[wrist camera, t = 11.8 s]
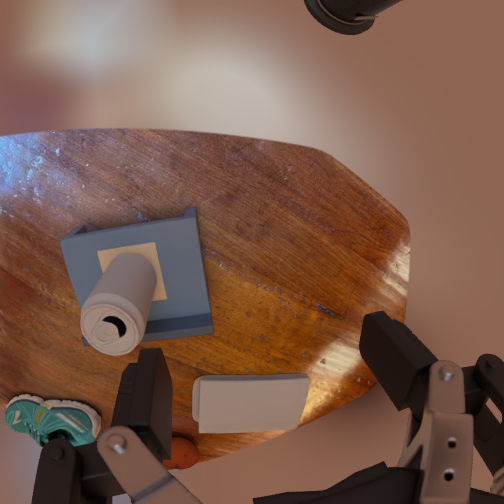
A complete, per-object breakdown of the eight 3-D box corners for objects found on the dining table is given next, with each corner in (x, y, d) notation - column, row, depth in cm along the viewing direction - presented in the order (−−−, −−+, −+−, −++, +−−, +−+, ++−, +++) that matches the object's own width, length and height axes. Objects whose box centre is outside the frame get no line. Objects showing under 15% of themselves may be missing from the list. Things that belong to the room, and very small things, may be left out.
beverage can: (167, 280, 35) (157, 339, 24) (131, 306, 35) (111, 368, 24) (134, 240, 32) (106, 286, 21) (98, 270, 33) (63, 323, 22)
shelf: (75, 227, 36) (48, 248, 28) (196, 207, 39) (195, 223, 30) (100, 312, 41) (84, 346, 33) (210, 298, 44) (213, 333, 35)
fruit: (151, 439, 54) (149, 467, 46) (176, 426, 53) (177, 456, 46) (179, 453, 57) (180, 479, 50) (205, 442, 56) (207, 469, 49)
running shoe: (1, 390, 43) (-16, 422, 33) (87, 389, 46) (74, 432, 35) (25, 420, 47) (13, 451, 37) (111, 422, 50) (104, 463, 40)
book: (295, 419, 58) (299, 431, 54) (192, 422, 53) (192, 437, 50) (313, 372, 53) (320, 385, 50) (193, 374, 48) (194, 389, 45)
